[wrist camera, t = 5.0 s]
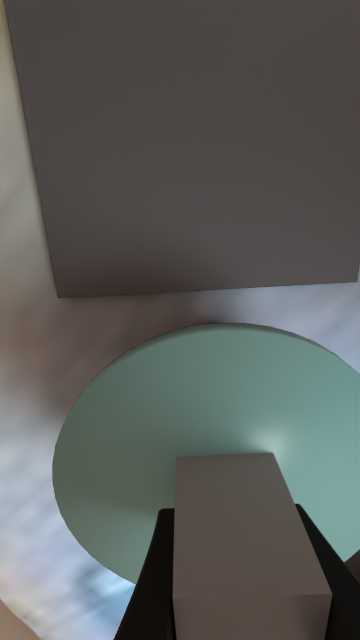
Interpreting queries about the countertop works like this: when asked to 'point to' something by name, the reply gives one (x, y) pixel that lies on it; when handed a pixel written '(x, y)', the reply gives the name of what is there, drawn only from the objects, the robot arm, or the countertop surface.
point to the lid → (220, 473)
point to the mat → (193, 141)
